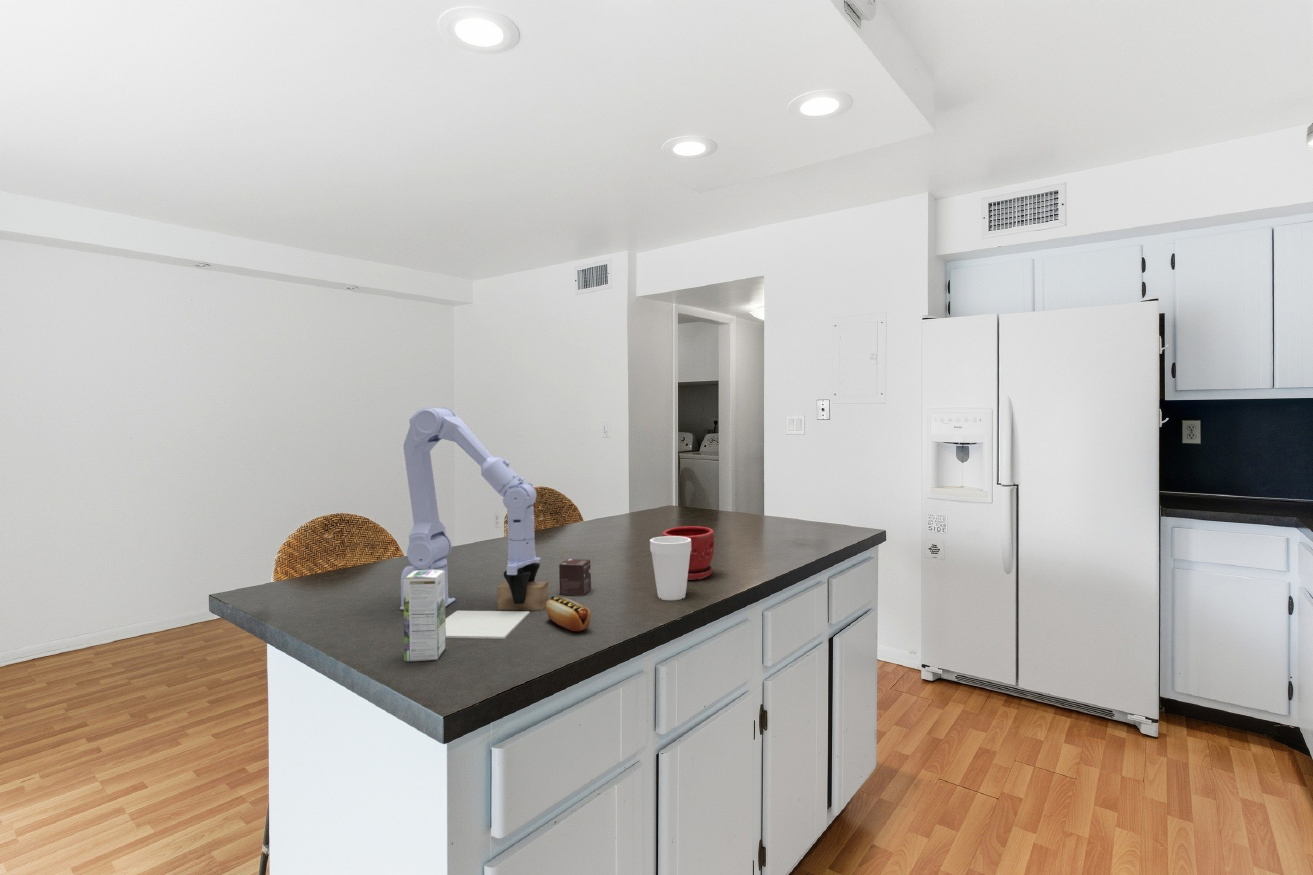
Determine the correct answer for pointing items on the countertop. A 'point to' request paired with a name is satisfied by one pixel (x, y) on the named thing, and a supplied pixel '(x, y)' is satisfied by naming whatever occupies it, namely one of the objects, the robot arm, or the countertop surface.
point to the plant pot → (697, 549)
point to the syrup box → (424, 615)
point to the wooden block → (533, 600)
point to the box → (575, 577)
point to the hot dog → (568, 613)
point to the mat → (483, 624)
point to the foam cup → (671, 565)
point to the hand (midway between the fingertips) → (522, 599)
